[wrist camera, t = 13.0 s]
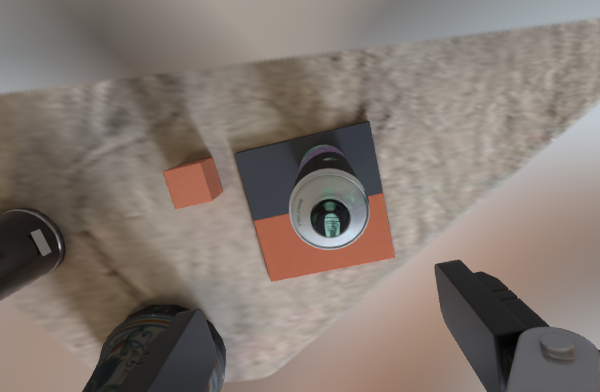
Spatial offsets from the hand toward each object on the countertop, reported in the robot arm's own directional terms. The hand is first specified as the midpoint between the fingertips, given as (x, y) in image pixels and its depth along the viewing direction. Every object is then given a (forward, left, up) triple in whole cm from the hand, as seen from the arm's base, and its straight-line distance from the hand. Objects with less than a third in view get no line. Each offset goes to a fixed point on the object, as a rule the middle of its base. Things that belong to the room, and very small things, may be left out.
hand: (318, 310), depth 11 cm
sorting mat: (-1, -5, -29) cm, 29 cm away
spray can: (+1, 0, -29) cm, 29 cm away
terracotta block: (-14, +2, -29) cm, 32 cm away
